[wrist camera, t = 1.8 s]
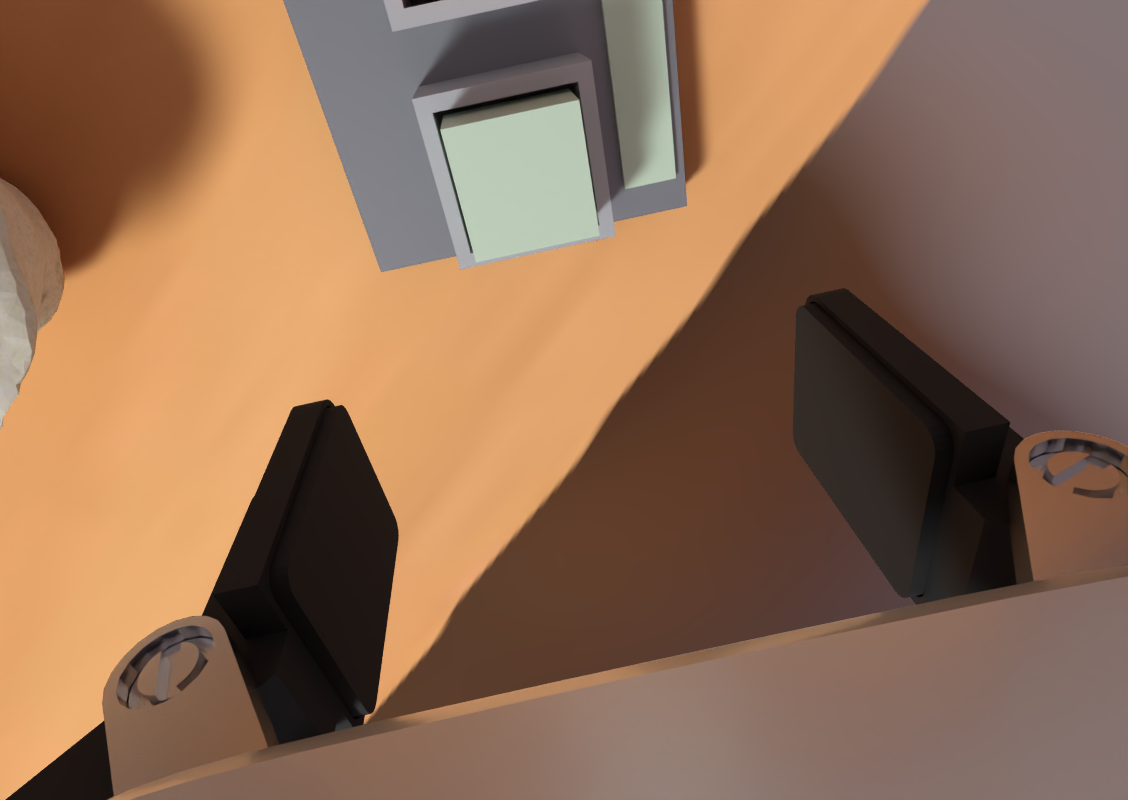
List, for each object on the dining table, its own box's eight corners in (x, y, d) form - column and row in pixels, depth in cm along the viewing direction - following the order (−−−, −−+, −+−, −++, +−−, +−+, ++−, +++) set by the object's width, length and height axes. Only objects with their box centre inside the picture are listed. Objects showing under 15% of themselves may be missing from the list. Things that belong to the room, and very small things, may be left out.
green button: (443, 115, 25) (440, 129, 23) (568, 88, 25) (579, 99, 23) (475, 237, 28) (475, 262, 25) (587, 212, 28) (599, 235, 25)
